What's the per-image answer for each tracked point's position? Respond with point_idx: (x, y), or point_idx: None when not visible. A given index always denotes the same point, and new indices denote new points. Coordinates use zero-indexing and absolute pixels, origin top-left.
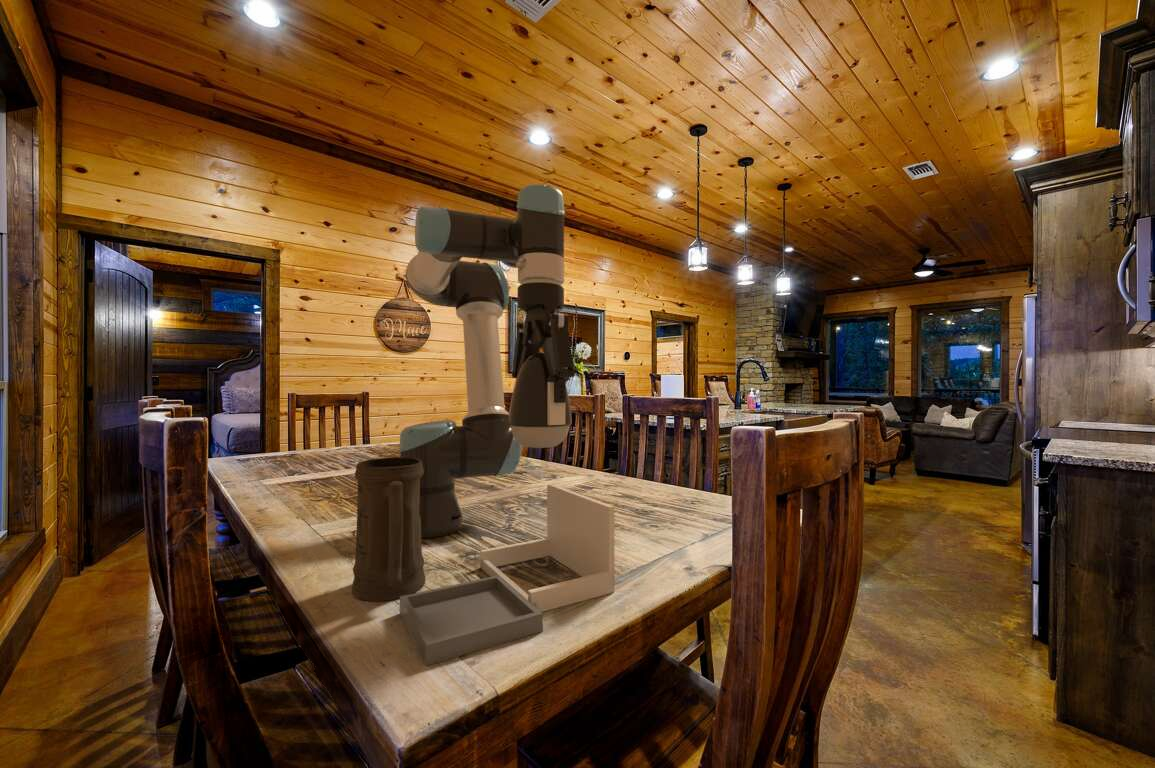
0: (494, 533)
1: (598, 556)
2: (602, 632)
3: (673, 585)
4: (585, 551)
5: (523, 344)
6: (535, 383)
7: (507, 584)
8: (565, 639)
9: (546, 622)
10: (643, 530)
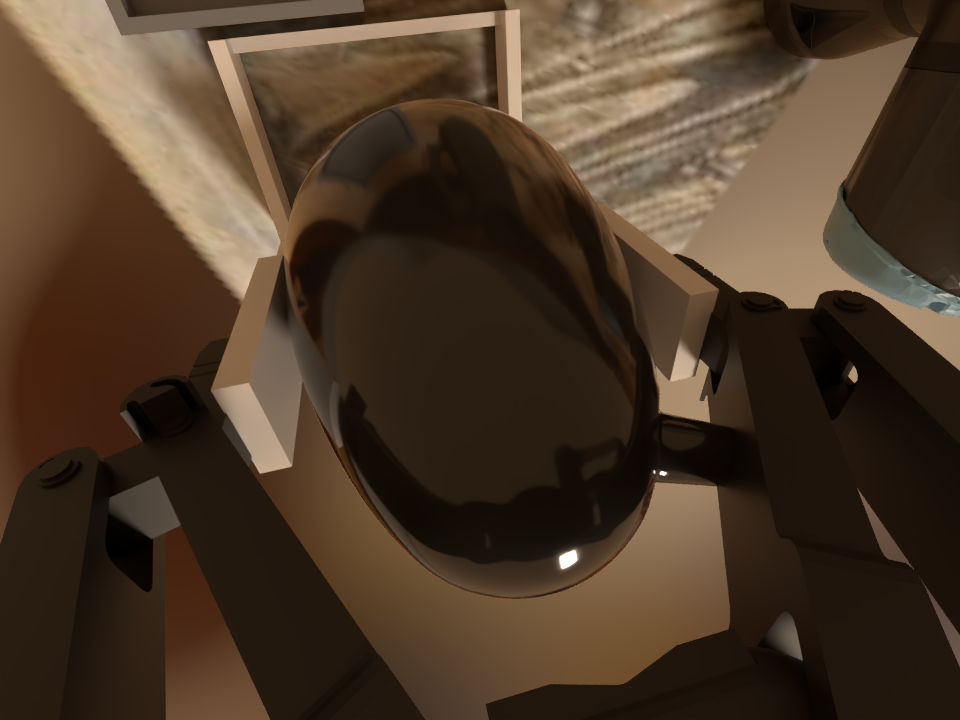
0: (694, 121)
1: None
2: (122, 149)
3: None
4: None
5: (856, 554)
6: (322, 314)
7: (301, 11)
8: (97, 68)
9: (178, 59)
10: None
